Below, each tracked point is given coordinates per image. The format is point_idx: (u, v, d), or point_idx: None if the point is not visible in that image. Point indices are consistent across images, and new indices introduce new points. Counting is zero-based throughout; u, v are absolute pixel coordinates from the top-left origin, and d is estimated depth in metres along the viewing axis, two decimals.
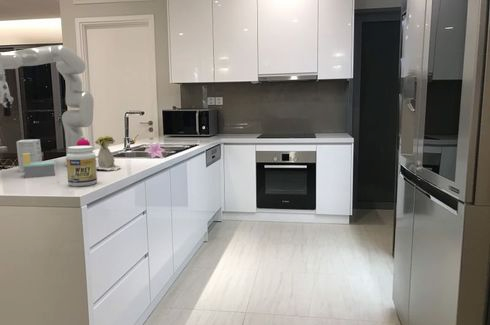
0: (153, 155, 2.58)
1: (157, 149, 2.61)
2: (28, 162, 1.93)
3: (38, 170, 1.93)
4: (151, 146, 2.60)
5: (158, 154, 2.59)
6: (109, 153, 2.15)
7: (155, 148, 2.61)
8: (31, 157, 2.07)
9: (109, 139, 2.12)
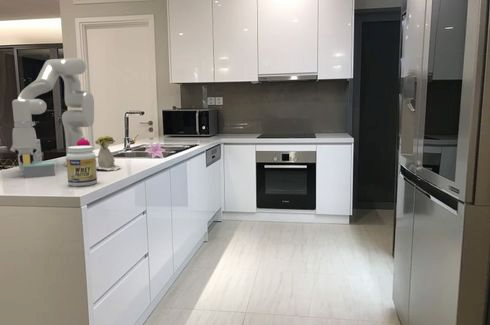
0: (153, 155, 2.58)
1: (157, 149, 2.61)
2: (28, 162, 1.93)
3: (38, 170, 1.93)
4: (151, 146, 2.60)
5: (158, 154, 2.58)
6: (109, 153, 2.15)
7: (155, 148, 2.61)
8: None
9: (109, 139, 2.12)
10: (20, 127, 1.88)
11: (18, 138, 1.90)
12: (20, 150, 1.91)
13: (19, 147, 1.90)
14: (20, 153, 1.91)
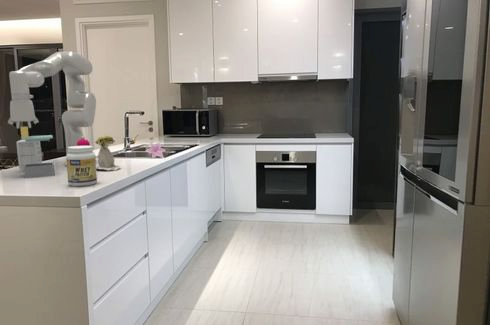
0: (154, 155, 2.57)
1: (158, 149, 2.61)
2: (26, 135, 1.91)
3: (38, 170, 1.93)
4: (152, 146, 2.60)
5: (159, 154, 2.58)
6: (109, 153, 2.15)
7: (156, 148, 2.61)
8: (31, 157, 2.07)
9: (109, 139, 2.12)
10: (17, 99, 1.86)
11: (16, 111, 1.88)
12: (18, 123, 1.89)
13: (17, 120, 1.88)
14: (18, 126, 1.90)
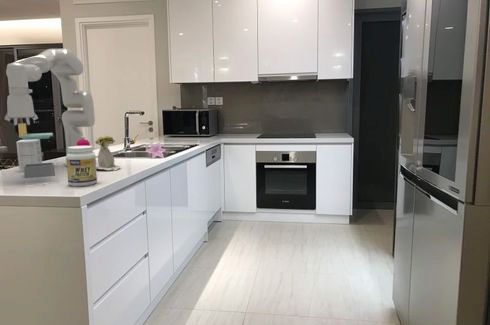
0: (154, 155, 2.57)
1: (158, 149, 2.61)
2: (24, 132, 1.77)
3: (38, 170, 1.93)
4: (152, 146, 2.60)
5: (159, 154, 2.58)
6: (109, 153, 2.15)
7: (156, 148, 2.60)
8: (31, 157, 2.07)
9: (109, 139, 2.12)
10: (15, 94, 1.72)
11: (13, 106, 1.74)
12: (15, 119, 1.76)
13: (14, 116, 1.75)
14: (15, 122, 1.76)
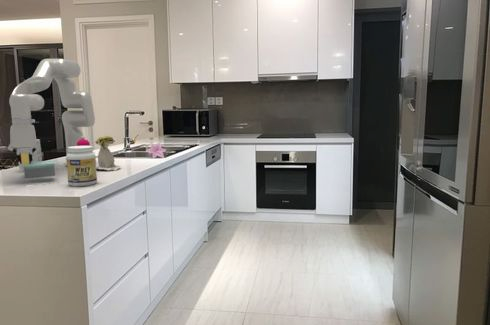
0: (154, 155, 2.57)
1: (158, 149, 2.61)
2: (27, 162, 1.79)
3: (38, 170, 1.93)
4: (152, 146, 2.60)
5: (159, 154, 2.58)
6: (109, 153, 2.15)
7: (156, 148, 2.60)
8: None
9: (109, 139, 2.12)
10: (18, 124, 1.75)
11: (16, 136, 1.76)
12: (18, 149, 1.78)
13: (17, 146, 1.77)
14: (18, 152, 1.78)
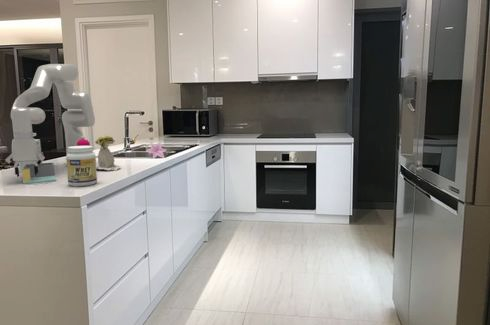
0: (154, 155, 2.57)
1: (158, 149, 2.60)
2: (28, 178, 1.81)
3: (38, 170, 1.93)
4: (152, 146, 2.59)
5: (159, 154, 2.58)
6: (109, 153, 2.15)
7: (156, 148, 2.60)
8: None
9: (109, 139, 2.12)
10: (20, 138, 1.76)
11: (18, 150, 1.77)
12: (17, 162, 1.78)
13: (19, 160, 1.78)
14: (15, 165, 1.78)
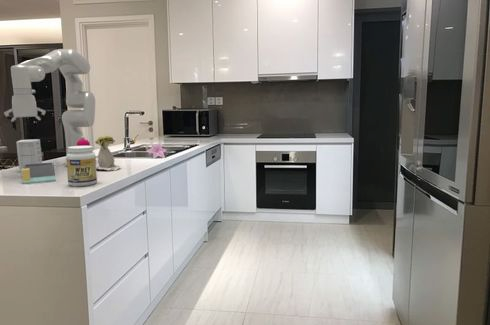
0: (155, 155, 2.57)
1: (159, 149, 2.60)
2: (28, 178, 1.81)
3: (38, 170, 1.93)
4: (153, 146, 2.59)
5: (160, 154, 2.58)
6: (109, 153, 2.15)
7: (157, 148, 2.60)
8: (31, 157, 2.07)
9: (109, 139, 2.12)
10: (20, 94, 1.82)
11: (18, 106, 1.84)
12: (15, 117, 1.85)
13: (19, 115, 1.85)
14: (12, 119, 1.85)
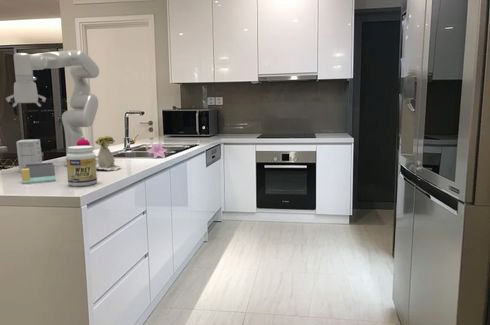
0: (155, 155, 2.57)
1: (159, 149, 2.60)
2: (27, 178, 1.81)
3: (38, 170, 1.93)
4: (153, 146, 2.59)
5: (160, 154, 2.58)
6: (109, 153, 2.15)
7: (157, 148, 2.60)
8: (31, 157, 2.07)
9: (109, 139, 2.12)
10: (21, 80, 1.90)
11: (19, 92, 1.91)
12: (16, 102, 1.92)
13: (20, 101, 1.92)
14: (14, 104, 1.92)
